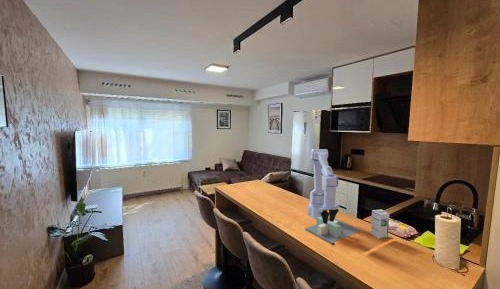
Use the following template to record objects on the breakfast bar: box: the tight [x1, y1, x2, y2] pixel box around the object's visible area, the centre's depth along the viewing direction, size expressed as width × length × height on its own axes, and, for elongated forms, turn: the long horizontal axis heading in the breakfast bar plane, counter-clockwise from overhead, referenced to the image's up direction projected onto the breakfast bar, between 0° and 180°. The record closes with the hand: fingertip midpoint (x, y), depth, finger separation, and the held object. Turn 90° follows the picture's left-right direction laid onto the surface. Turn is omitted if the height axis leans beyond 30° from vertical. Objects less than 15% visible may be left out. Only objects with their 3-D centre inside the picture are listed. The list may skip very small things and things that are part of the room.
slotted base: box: [304, 218, 363, 245], centre depth 127 cm, size 18×26×6 cm
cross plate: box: [315, 217, 341, 238], centre depth 124 cm, size 14×3×6 cm, turn 32°
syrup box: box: [370, 209, 390, 240], centre depth 120 cm, size 6×6×14 cm
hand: (328, 222), depth 124 cm, fingers open, 5 cm apart
